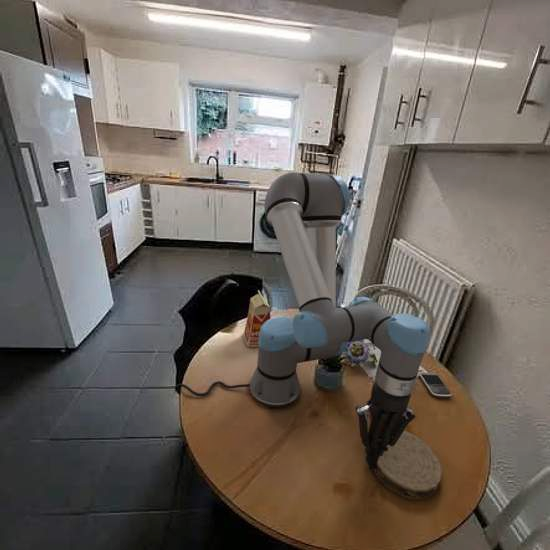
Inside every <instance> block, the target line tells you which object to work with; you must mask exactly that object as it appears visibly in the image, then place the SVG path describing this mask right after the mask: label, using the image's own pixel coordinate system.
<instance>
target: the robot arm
mask: <svg viewBox="0 0 550 550" xmlns="http://www.w3.org/2000/svg"><path fill="white" fill-rule="evenodd" d="M350 202H351V194H350V188H349V186H348V184H347V182H346V181H345V180H344V178H343V177H341V176H340V175H336V174H330V173H311V172H296V171H295V172H294V171H293V172H286V173H284V174H282V175H280V176H278V177H277V178H276V179H275V180H274V181H273V182H272V183H271V184H270V186H269V188H268V190H267V191H266V194H265V199H264V204H263V205H264V214H265V218H266V222H267V224H268V225H269V226H271V228H272V227H273V231H274V234H275V237H276V240H277V243H278V246H279V250H280V253H281V256H282V259H283V263H284V267H285V269H286V273H287V275H288V279H289V282H290V285H291V289H292V292H293V295H294V298H295V301H296V304H297V308H298V311H299V312H297V313H295V315H294V316H292V317H291V316H286V315H279V316H274V317H271V319H269V320H267V321H266V322H265V323H264V324H263V325H262V327H261V329H260V335H259V338H258V344H259V346H258V347H257V348H258V349H257V362H256V363H257V365H256V368H255V370H254V372H253V374H252V377H251V379H250V381H249V382H250V383H244V384H243V383H242V384H234V385H228V384H226V383H224V382H223V381H219V380H218V381H215V382H213V383H211V384H210V386H209V388H208V389H207V390H206V392H203V393H202V392H201V393H200V392H197V391H194V390H193V389H192V388H190V387H189V386H188V385H186V384H184V383H177V384H176V385H174V388H176V389H177V388H179V387H180V388H181V387H182V388H184V389H186V390H187V391H188V392H190V393H191V394H193V395H194V396H197V397H205V396H207V395H209V394H210V392H211V391H212V389H214V387H215V386H216V385H220V386H223V387H224V388H225V389H237V388H247V387H249V393H250V395H251V397H252V399H253V400H254V401H255V402H256V403H257V404H258V405H261V406H263V407H265V408H268V409H284V408H286V407H290V406H292V405H294V403H295V402H297V400H298V399H299V396H300V390H301V385H300V382H299V381H300V380H299V378H298V377H299V376H298V374H297V366H298V364H301V363H307V362H313V361H319V360H324V359H331V358H334V357H337V356H340V355H343V354H342V353H343V352H344V351H345V350H346V348H347V345H348V342H352V341H358V340H368V341H369V343H372V344H374V346H375V348H377V349H379V350H380V356H379V360H378V364H377V368H376V372H375V376H374V380H373V382H372V388H371V391H370V399H368V401H367V402H366V405H364V406H362V407H361V405H356V406H355V407H354V408H355V411H356V415H357V417H358V427H359V437H360V439H361V443H362V445H363V447H365V448H364V450H365V453H366V455H365V460H366V464H367V466H368V468H369V470H373V469H376V465H377V462H378V459H379V456H382V455H383V452H384V451H387V450H388V448H387V445H390V446H394V445H395V444H396V442H397V441H398V439H399V437H400V436H401V434H402V433H403V431H406V428H407V427H408V425H409V424H410V423H411V422H412V421H413V420H415V419H416V415H415V413H414V411H413V410H412V408H411V407H410V406H409V403H410V401H411V397H412V392H413V390H414V387H415V384H416V381H417V378H418V375H419V369H420V367H421V364H422V361H423V359H424V356H425V354H426V352H427V349H428V345H429V340H430V339H429V338H430V334H431V327H430V326H429V324H428V323H427V322H426V321H425V320H424V319H422V318H421V317H419V316H418V317H417V316H414V314H411V313H404V312H403V313H402V312H401V313H394V314H392V313H391V312H390V311H389V310H387V309H386V308H385V307H384V306H382V305H381V303H379V302H377V301H375V300H373V299H372V298H370V297H367V296H358V297H356V298H355V299H354V300H353V299H352V300H351V301H350V302H349V304H348V305H347V306H342V307H341V306H340V307H337V306H336V303H337V302H336V291H337V290H336V288H337V287H336V279H337V277H336V275H337V274H336V271H337V268H336V264H337V262H336V261H337V260H336V258H337V255H336V249H337V248H336V246H337V245H336V244H337V243H336V241H337V239H336V238H337V237H336V228H337V227H338V226H339V225H340V224H341V223H342V216H345V214H346V213H347V212H348V211H349V210H348V208H349V207H350V205H351V203H350ZM369 413H370V415H371V414H372V417H371V421H370V425H368V419H369ZM392 436H393V437H392Z"/></svg>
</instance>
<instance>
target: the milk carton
mask: <svg viewBox="0 0 550 550" xmlns="http://www.w3.org/2000/svg"><path fill="white" fill-rule="evenodd" d="M257 292H258V293H256V294H255V295H254V296H252V297H250V299H249V308H248V313H247V317H246V323H245V327H244V331H243V334H242V335H243V338H244V341H245V343H246V345H247V348H248V347H249V348H250V347H255V348H256V347H257V348H258V346H259V344H258V338H259V335H260V329H261V327H262V325H263V324H264V323H265V322H266V321H267V320H269V319H271V318H272V316H271V315H272V313H271V306H270V305H269V302H268V301H267V299H266V298H265V297H264V295H263V294H262V293H261V291H260V290H259V289H257Z"/></svg>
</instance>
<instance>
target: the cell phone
mask: <svg viewBox="0 0 550 550" xmlns="http://www.w3.org/2000/svg"><path fill="white" fill-rule="evenodd" d="M418 376H419V377H420V379H421V381H422V382H423V384H424V385H425V387H426V388H427V390H428V392H429V393H430V394H431V396H432V397H434V398H451V397H452V393H451V392H450V390H449V389H448V387H447V386H446V384H444V382H443V381H442V379H441V378H440V377H439V375H438V374H437V372H419V371H418Z"/></svg>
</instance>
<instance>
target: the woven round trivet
mask: <svg viewBox="0 0 550 550" xmlns="http://www.w3.org/2000/svg"><path fill="white" fill-rule="evenodd" d="M392 437H393V436H392ZM387 448H388V450H387V451H384V452H383V455H382V456H379V459H378V462H377V465H376V469H372V471H373V472H374V474H375V475H376V477H377V478H378V480H379V481H380V482H382V484H384V485H385V486H386V487H387V488H388V489H389V490H391V491H392V492H394V493H396V494H398V495H399V496H402V497H404V498H408V499H411V500H424V499H427V498H428V497H431V496H433V494H435V492H436V491H437V489H438V487H439V484H440V482H441V479H442V474H443V470H442V466H441V462H440V459H439V457H438V456H437V454H436V453H435V451H434V450H433V449H432V447H430V446H429V445H428V443H427V442H425V441H424V440H423V439H421V438H420V437H419V436H417V435H415V434H413V433H412V432H409V431H406V430H404V431H403V433H402V434H401V436H400V437H399V439H398V441H397V442H396V444H395V445H394V446H390V445H387Z"/></svg>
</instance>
